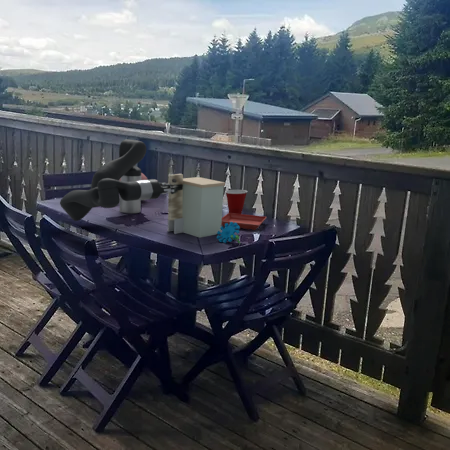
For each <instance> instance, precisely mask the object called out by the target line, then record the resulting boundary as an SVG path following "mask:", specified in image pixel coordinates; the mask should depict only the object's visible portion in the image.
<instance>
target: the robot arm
mask: <svg viewBox="0 0 450 450" xmlns="http://www.w3.org/2000/svg"><path fill="white" fill-rule="evenodd" d="M146 153H147V145H146V144H145V142H143V141H140V140H137V139H129V138H128V139H126V138H125V139H123V140H121V142H120V144H119V149H118V156H119V157H118V158H115V159H113V160H110V161H108V162H106V163H105V164H104V163H103V165H102V166H100V168H98V169H97V171H96V172H95V173H93V176H92V180H91V186H90V189H73V190H71V191H69V192H68V193H67V192H66V194H65V195H64V196H63V197H62V198H61V199H60V201H59V205H60V207H61V208H62V209H63V211H64V212H65V213H66V214H67V215H68V217H70V219H72V220H73V221H75V222H79V221H80V220H82V219H84V217H86V216H87V215H88V214H89V213H90V211H92V210H93V208H98V207H101V208H104V209H113V208H116V207H118V206H119V212H120V213H124V214H138V213H141V208H142V207H141V205H142V201H146V200H154V199H155V200H156V199H158V198H159V197H160V196H161V195H166V194H168V193H171V194H174V193H176V192H178V190H182V189H183V185H182V184H178V185H175V184H174V185H172V184H168V182H159V180H157V179H155V178H151V179H148V180H141V173H142V169H141V168H140V167H138V166H137V164H139V163H140V162H141V161H142V160H143V159H144V157H145V156H146ZM120 179H121V181H120Z"/></svg>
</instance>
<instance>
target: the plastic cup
mask: <svg viewBox="0 0 450 450" xmlns="http://www.w3.org/2000/svg"><path fill="white" fill-rule="evenodd" d="M224 193H225V195H226V201H227V209H228V213H236V214H243V210H244V205H245V201H246V196H247V193H248V190H246V189H244V190H243V189H228V190H225V191H224Z"/></svg>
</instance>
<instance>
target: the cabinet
mask: <svg viewBox="0 0 450 450" xmlns="http://www.w3.org/2000/svg"><path fill="white" fill-rule="evenodd" d="M225 186H226V182H224V181H219V180H216V179H215V180H214V179H209V178H206V177H205V178H204V177H201V176H197V177H195V176H194V177H187V178H186V177H183V211H182V218H178V219H174V220H168V219H167V232H169V233H170V232H173V234H175V235H176V234H182V233H185V234H187V235H191V236H194V237H197V238H205V237H210V236H215V235H218V234H217V232H218V231H220V232H222V230H221V229H220V227H222V224H221V222H222V217H223V204H224V203H223V201H224V187H225Z"/></svg>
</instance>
